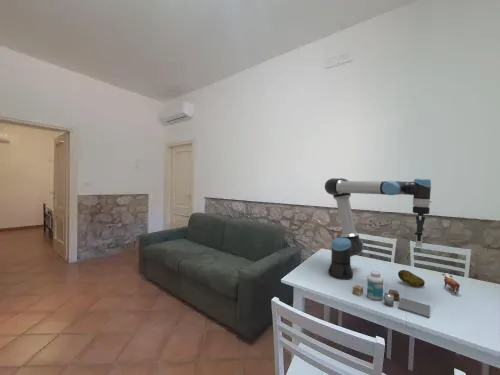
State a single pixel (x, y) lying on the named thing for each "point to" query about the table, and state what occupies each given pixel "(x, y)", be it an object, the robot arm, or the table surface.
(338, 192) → the robot arm
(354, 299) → the table surface
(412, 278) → the potato
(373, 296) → the pill bottle
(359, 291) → the beech cube
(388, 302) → the grey egg shape
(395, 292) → the walnut cube
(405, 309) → the coaster
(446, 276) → the bull figurine
